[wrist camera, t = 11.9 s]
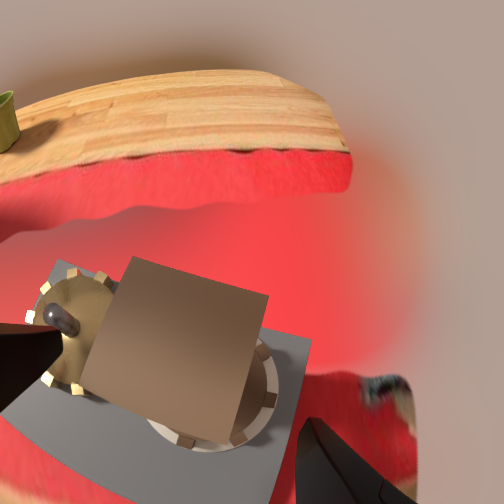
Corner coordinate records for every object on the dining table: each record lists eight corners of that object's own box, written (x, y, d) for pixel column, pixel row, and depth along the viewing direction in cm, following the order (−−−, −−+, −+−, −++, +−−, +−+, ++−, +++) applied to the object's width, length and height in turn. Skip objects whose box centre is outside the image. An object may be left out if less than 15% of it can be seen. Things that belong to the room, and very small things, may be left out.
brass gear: (147, 390, 17) (125, 384, 14) (38, 397, 15) (4, 389, 12) (130, 266, 22) (113, 235, 18) (36, 285, 20) (9, 261, 16)
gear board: (254, 529, 13) (256, 537, 12) (7, 414, 15) (-4, 412, 13) (306, 344, 22) (312, 338, 20) (65, 266, 23) (57, 257, 22)
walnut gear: (255, 463, 15) (295, 536, 4) (123, 419, 16) (3, 412, 5) (287, 339, 20) (356, 247, 9) (165, 304, 21) (109, 186, 10)
